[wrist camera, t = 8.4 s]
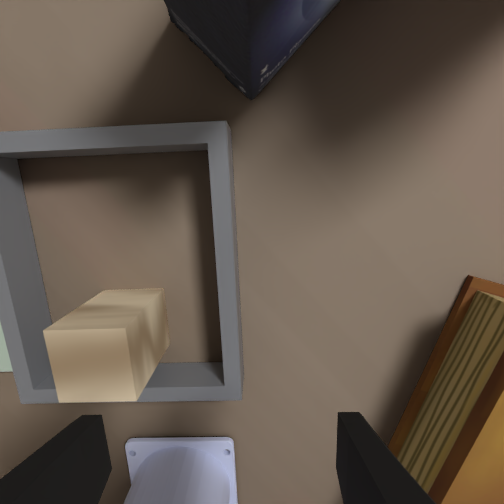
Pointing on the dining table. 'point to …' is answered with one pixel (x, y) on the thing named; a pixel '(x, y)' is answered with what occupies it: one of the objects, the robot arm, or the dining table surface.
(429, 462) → the diary
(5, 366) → the pad
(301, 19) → the small box
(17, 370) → the parts bin
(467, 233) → the dining table surface
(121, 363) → the maple block
